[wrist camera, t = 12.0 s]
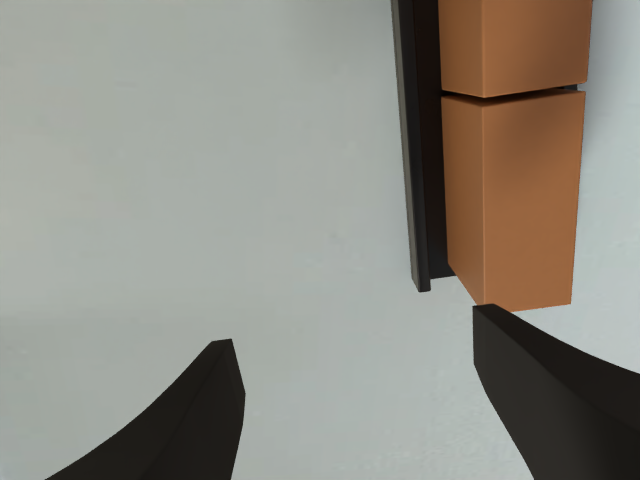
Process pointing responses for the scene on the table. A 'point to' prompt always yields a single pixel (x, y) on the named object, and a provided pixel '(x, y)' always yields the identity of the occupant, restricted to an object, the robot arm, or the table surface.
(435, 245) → the rail
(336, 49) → the table surface
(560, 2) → the brown wooden block
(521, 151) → the orange rectangular block
